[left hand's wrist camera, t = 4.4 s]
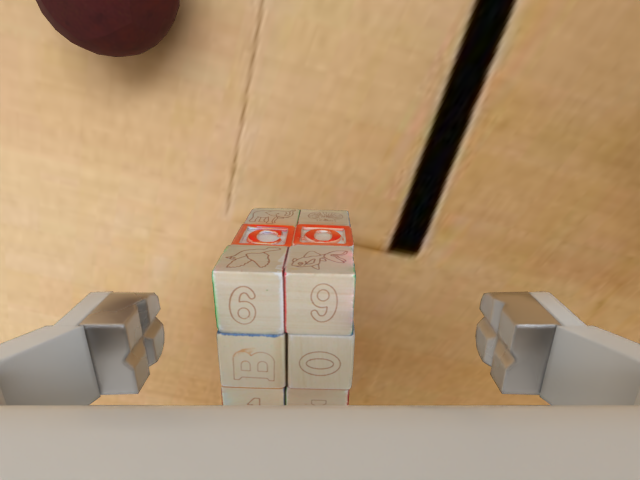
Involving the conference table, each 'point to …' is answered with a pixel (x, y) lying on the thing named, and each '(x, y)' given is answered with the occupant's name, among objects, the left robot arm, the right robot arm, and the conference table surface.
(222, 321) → the stack of blocks
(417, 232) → the conference table surface
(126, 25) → the plum
